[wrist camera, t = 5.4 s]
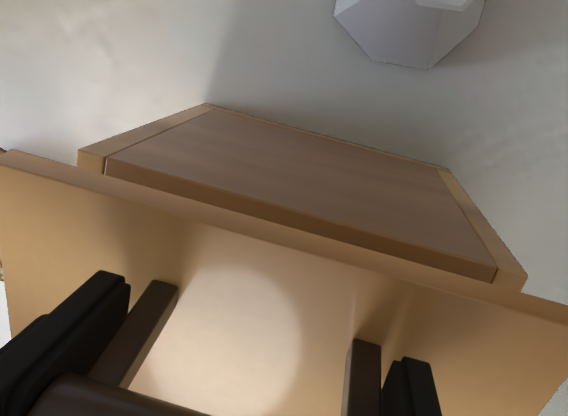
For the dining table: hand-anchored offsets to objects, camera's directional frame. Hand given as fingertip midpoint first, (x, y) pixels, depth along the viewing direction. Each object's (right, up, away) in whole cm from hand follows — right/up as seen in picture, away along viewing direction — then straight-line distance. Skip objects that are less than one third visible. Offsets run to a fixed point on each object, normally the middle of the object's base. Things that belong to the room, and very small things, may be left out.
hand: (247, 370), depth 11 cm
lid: (-1, -4, +4) cm, 6 cm away
